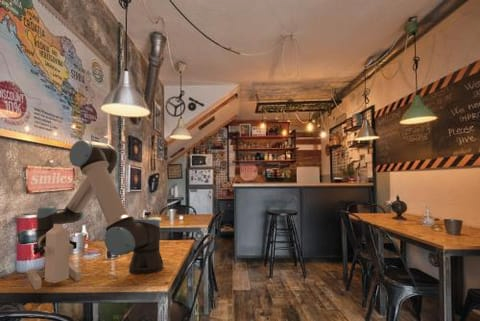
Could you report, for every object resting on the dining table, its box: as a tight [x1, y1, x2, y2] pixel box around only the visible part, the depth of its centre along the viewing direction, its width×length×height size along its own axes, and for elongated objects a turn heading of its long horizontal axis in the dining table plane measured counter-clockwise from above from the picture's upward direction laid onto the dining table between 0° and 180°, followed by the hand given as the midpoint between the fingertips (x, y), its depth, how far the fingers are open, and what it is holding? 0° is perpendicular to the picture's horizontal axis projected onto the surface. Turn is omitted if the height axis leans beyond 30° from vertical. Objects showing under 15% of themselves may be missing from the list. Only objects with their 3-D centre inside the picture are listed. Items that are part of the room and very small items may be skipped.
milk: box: [44, 224, 71, 284], centre depth 119 cm, size 6×6×22 cm
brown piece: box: [27, 261, 82, 291], centre depth 125 cm, size 20×16×4 cm
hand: (60, 251), depth 115 cm, fingers closed on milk, 8 cm apart
